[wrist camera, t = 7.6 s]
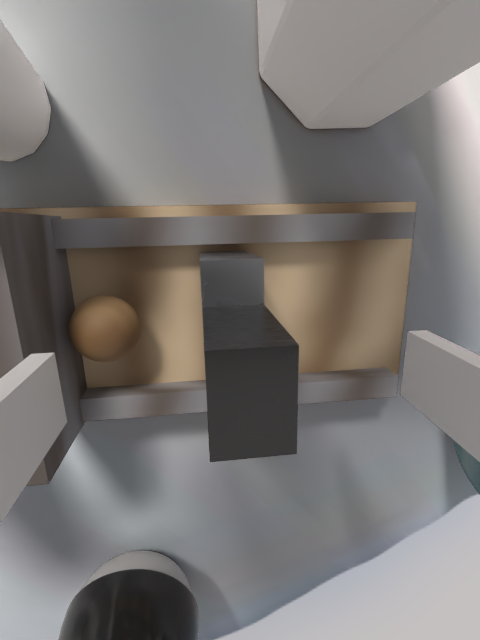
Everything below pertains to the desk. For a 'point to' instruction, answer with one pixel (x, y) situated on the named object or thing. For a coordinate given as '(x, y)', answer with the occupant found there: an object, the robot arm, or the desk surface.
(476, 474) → the flower pot
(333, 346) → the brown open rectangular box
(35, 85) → the foam cup
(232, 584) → the desk surface
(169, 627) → the pump dispenser
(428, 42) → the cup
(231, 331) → the block
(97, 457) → the desk surface
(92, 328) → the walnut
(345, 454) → the desk surface
